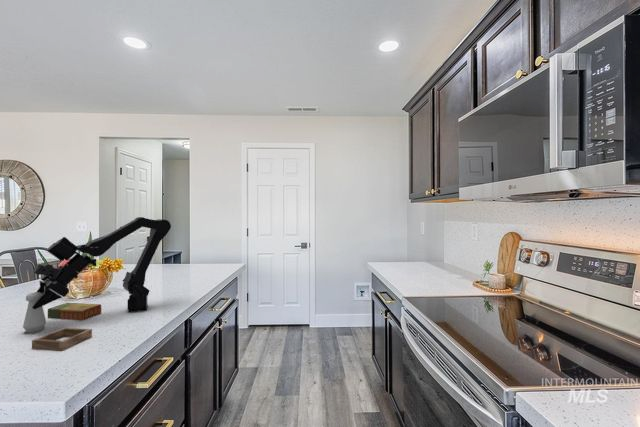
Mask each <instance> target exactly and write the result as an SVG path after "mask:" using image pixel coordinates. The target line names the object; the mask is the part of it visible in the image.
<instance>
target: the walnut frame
mask: <svg viewBox="0 0 640 427" xmlns="http://www.w3.org/2000/svg"><path fill="white" fill-rule="evenodd" d="M64 337H65V338H66V339H63V340H59V339H62V338H64ZM92 337H93V329H89V328H76V327H75V328H74V327H62V328H60V329H57V330H55V331H53V332H50V333H48V334H45V335H42V336H39V337H36V338H35V339H31V349H32V350H44V351H45V350H47V351H57V352H58V351H59V352H63V351H65V350H68V349H70V348H72V347H74V346H75V345H78V344H80V343H83V342H84V341H86V340H88V339H91V338H92Z"/></svg>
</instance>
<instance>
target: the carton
mask: <svg viewBox="0 0 640 427" xmlns="http://www.w3.org/2000/svg"><path fill="white" fill-rule="evenodd" d="M101 314H102V304H100V303H82V302H79V303H78V302H76V303H75V302H65V303H62V304H59V305H55V306H53V307H49V308H47V319H56V320H67V319H68V320H72V321H82V320H83V321H86V320H88V318H89V319H90V318H93V316H94V317H96V315H97V316H99V315H101ZM85 319H86V320H85Z"/></svg>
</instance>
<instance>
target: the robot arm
mask: <svg viewBox="0 0 640 427" xmlns="http://www.w3.org/2000/svg"><path fill="white" fill-rule="evenodd" d="M141 228H147V229H149V238H148V240H147V242H146V244H145V246H144V249H143V250H142V252H141V255H140V257H139V259H138V261H137V263H136V264H135V266H134V268H133V270H131V271H130V272H129V271H127V272H126V273H125V276H124V278H123V280H122V287H123V289H124V290H125V291H127V293H128V295H129V296H128V299H127V313H135V312H146V311H147V309H148V308H149V305H148V296H149V293H150V289H149V288H147V287H146V286H144V285H145V282H146V274H147V273H146V272H147V270H148V268H149V267H150V264H151V262H152V260H153V258H154V255H155V253H156V251H157V249H158V247H159V245H160V243H161V242H162V240H163V239H164V238H165V237H166V236H167V234H168V233H169V232H170V230H171V229H172V225H171V222H170V221H169V220H168V219H157V218H156V219H152V218H146V217H143V216H137V217H136V218H134V219H132V220H131V221H129V222H127V223H126V224H124V225H123V226H120V227H118V228H117V229H115V230H114V231H111V233H108V234H106V235H102V236H99V237H97V238H95V239H91V240H90V241H88V242H86V243H85V244H80V245H79V244H78V245H76V244H74V243H72V241H70V240H69V239H68V238H67V237H65V236H63V237H62V238H60V239H59V240H56V242H53V243H52V244H51V245H50V246H49V247H47V249H46V252H48V253H49V254H50V255H52V256H53V257H55V258H57V260H59V261H60V262H61V261H64V260H65V261H67V262H66V263H65V264H63V265H59V266H58V267H54V266H53V264H49V263H46V264H43V263H37V265H36V266H35V268H34V270H33V273H34V274H35V275H37V276H41V275H42V276H41V278H40V280H39V287H38V289H37V290H36V292H41V293H43V295H42V296H41V297H40V298H39V299H38V301H37V302H36V303H35V304H34V305H33V307H32V308H33V309H37V308H39V307H41V306H42V307H43V306H45V305H47V304H50V303H53V302H55V301H57V300H59V299H62V298H65V297H66V296H67V295H68V294H69V292H70V289H69V284H70V283H71V282H72V281H74V279H75V280H76V279H78V278H79V276H78V275H80V274H81V273H82V272H83V271H84V270H85V269H86V268H87V267H89V265H91V266H92V267H97V259H96V258H91V257H97V258H98V257H100V256H102V255H103V254H105V253H106V252H107V251H108V250H110V249H111V248H112V247H113V246H114V244H116V243H117V242H119V241H120V240H123V239H124V238H126V237H127V236H129V235H131V234H132V233H134V232H136V231H137V230H139V229H141ZM79 252H80V253H79ZM81 253H83V254H84V255H83V254H81ZM88 255H90V256H91V257H90V256H88Z"/></svg>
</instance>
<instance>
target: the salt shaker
mask: <svg viewBox="0 0 640 427" xmlns="http://www.w3.org/2000/svg"><path fill="white" fill-rule="evenodd" d="M42 295H43V293H41V292H37V291H35V292H34V291H33V292H30V293H27V294H26V295H25V301H27V302H28V304H27V308H26V312H25V317H24V321H23V324H22V328H23V329H24V331H25V332H26V333H27V334H34V333H38V332H42V331H43V330H44V328H45V326H46V324H47V320H46V316H45V311H44V308H43V306H41V307H39V308H37V309H33V308H32V307H33V305H34V304H35V303H36V302H37V301H38V299H39V298H40V297H41V296H42Z"/></svg>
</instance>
